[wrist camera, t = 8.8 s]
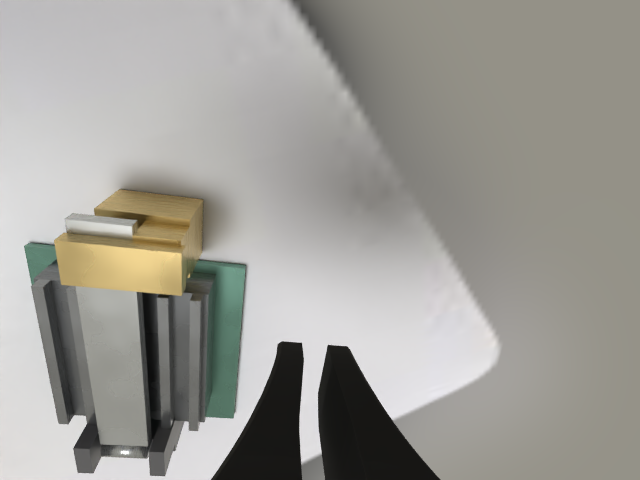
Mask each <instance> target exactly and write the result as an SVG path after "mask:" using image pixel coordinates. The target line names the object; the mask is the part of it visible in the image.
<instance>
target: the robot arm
mask: <svg viewBox="0 0 640 480" xmlns="http://www.w3.org/2000/svg"><path fill="white" fill-rule="evenodd" d="M303 363H304V358H303V348H302V343H295V342H280V343H279V344H278V347H277V354H276V359H275V362H274V365H273V368H272V371H271V374H270V376H269V379H268V381H267V384H266V386H265V388H264V391H263V393H262V395H261V397H260V399H259V401H258V403H257V405H256V407H255V409H254V411H253V413H252V415H251V417H250V419H249V421H248V423H247V424H246V426H245V428H244V430H243V431H242V433H241V435H240V437H239V438H238V440H237V441H236V443H235V445H234V446H233V448H232V450H231V451H230V453H229V454H228V456H227V457H226V459H225V460H224V462H223V463H222V465H221V466H220V468H219V469H218V471H217V472H216V473H215V475H214V476H213V478H212V479H211V480H302V473H301V456H300V437H299V414H300V402H301V389H302V376H303ZM318 419H319V434H320V442H321V450H322V458H323V466H324V473H325V480H440V479H439V478H438V477H437V476H436V475H435V473H434V472H433V471H432V470H431V469H430V468H429V467H428V465H427V464H426V463H425V462H424V461H423V460H422V458H421V457H420V456H419V455H418V454H417V453H416V451H415V450H414V449H413V448H412V446H411V445H410V444H409V442H408V441H407V440H406V439H405V437H404V436H403V435H402V433H401V432H400V431H399V429H398V428H397V426H396V425H395V424H394V423H393V421H392V419H391V418H390V417H389V415H388V414H387V412H386V411H385V409H384V408H383V406H382V405H381V403H380V401H379V400H378V398H377V397H376V395H375V393H374V392H373V390H372V389H371V387H370V385H369V384H368V382H367V380H366V379H365V377H364V375H363V373H362V372H361V370H360V368H359V366H358V364H357V362H356V360H355V359H354V357H353V355H352V353H351V351H350V349H349V348H348V347H347V346H334V345H328V347H327V352H326V357H325V362H324V367H323V372H322V377H321V382H320V387H319V392H318Z"/></svg>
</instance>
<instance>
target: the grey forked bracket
mask: <svg viewBox="0 0 640 480" xmlns="http://www.w3.org/2000/svg"><path fill="white" fill-rule="evenodd" d="M183 424H184V421H174V422H173V425H172V428H171V430H170V429H162V421H161V420H155V419H151V435H152V437H151V438H152V444H151V447H150V450H149V465H150V476H165V474H166V471H167V468H168V465H169V462H170V458H171V455H172V452H173V451H175V450H176V447H177V444H178V440H179V437H180V434H181V431H182V427H183ZM101 447H102V444H100V439H99V433H98V427H97V426H94V425H86V427H85V429H84V430H83V432H82V434H81V436H80V437H79V439H78V441H77V443H76V444H75V446H74V448H73V449H74V455H75V460H76V466H77V471H78V473H94V471H95V469H96V467H97V465H98V462H99V460H100V458H101Z"/></svg>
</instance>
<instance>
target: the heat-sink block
mask: <svg viewBox="0 0 640 480" xmlns="http://www.w3.org/2000/svg"><path fill="white" fill-rule="evenodd" d="M24 248H25V253H26V258H27V263H28V268H29V273H30V278H31V283H32V286H31V288H32V293H33V298H34V303H35V308H36V313H37V318H38V323H39V328H40V333H41V338H42V343H43V348H44V353H45V358H46V363H47V368H48V373H49V378H50V383H51V388H52V393H53V398H54V403H55V408H56V413H57V418H58V423H59V424H69V422H70V421H71V419H72V417H73V416H74V415H83V416H86V419H87V425H94V426H97V420H96V414H95V408H94V401H93V395H92V388H91V382H90V376H89V369H88V363H87V357H86V350H85V344H84V338H83V331H82V325H81V319H80V312H79V306H78V300H77V293H76V287H75V286H68V285H61V280H60V274H59V268H58V262H57V256H56V249H55V245H46V244H36V243H28V244H27V245H25V246H24ZM245 271H246V265H241V264H231V263H221V262H212V261H202V260H198V262H197V264H196V266H195V268H194V270H193V272H192V274H191V277H190V278H187V279H186V288H185V290H184V292H183V294H182V296H178V295H167V294H156V293H145V292H142V298H143V313H144V328H145V343H146V359H147V374H148V389H149V404H150V419H155V420H161V421H162V429H170V430H171V428H172V425H173V422H174V421H189V431H198V428H199V425H200V422H205V418H206V417H217V418H234V411H235V399H236V386H237V373H238V360H239V348H240V335H241V322H242V309H243V296H244V284H245Z"/></svg>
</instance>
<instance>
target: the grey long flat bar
mask: <svg viewBox="0 0 640 480" xmlns="http://www.w3.org/2000/svg"><path fill="white" fill-rule="evenodd" d="M65 223H66V230H67V233H73V234H82V235H92V236H101V237H110V238H120V239H129V240H133V238H132V235H133V234H134V233H135V232H136V231H137V230H138V222H137V220H130V219H121V218H112V217H103V216H94V215H85V214H76V213H72V214H71V215H70V216H68V217H67V218H66V219H65ZM75 287H76V293H77V300H78V306H79V312H80V319H81V325H82V331H83V338H84V344H85V350H86V357H87V363H88V369H89V376H90V382H91V388H92V395H93V401H94V408H95V414H96V420H97V427H98V433H99V439H100V444H102V447H101V456H102V457H123V458H145V459H147V458H148V457H149V450H150V447H151V444H152V438H151V437H152V435H151V419H150V404H149V389H148V374H147V359H146V343H145V328H144V313H143V298H142V292H134V291H123V290H112V289H101V288H90V287H79V286H75Z"/></svg>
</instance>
